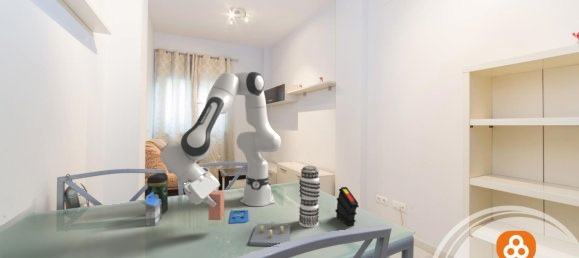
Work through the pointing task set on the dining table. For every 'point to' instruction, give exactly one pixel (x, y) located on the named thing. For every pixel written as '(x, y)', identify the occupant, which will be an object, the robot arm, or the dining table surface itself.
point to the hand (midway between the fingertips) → (218, 202)
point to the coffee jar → (159, 188)
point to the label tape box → (153, 210)
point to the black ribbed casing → (346, 206)
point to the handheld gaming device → (238, 216)
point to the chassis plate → (270, 234)
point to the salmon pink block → (218, 210)
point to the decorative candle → (309, 196)
